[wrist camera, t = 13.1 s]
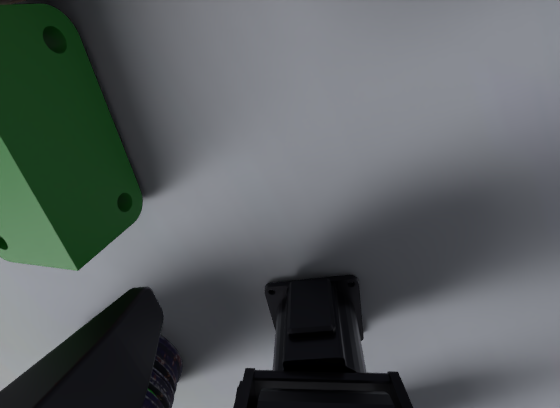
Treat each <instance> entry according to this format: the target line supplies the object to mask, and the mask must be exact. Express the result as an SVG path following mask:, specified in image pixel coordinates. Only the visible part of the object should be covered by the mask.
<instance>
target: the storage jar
mask: <svg viewBox="0 0 560 408" xmlns="http://www.w3.org/2000/svg"><path fill="white" fill-rule="evenodd" d="M182 368H183V364H182V359H181V357H180V354H179V353H178V351H177V350H176V348H175V347H174V346H173V345H172V344H171V343H170V342H169V341H168V340H167V339H165V338H164V337H162V336H161V335H160V337H159V342H158V347H157V351H156V356H155V361H154V365H153V370H152V374H151V378H150V382H149V386H148V389H147V393H146V396H145V399H144V402H143V405H142V408H172V404H173V402H174V394H175V391H176V386H177V382H178V381H179V378H180V376H181V373H182Z"/></svg>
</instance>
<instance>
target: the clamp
mask: <svg viewBox="0 0 560 408" xmlns="http://www.w3.org/2000/svg"><path fill="white" fill-rule="evenodd" d="M142 203H143V200H142V194H141V191H140V188H139V185H138V183H137V180H136V178H135V175H134V173H133V170H132V168H131V165H130V163H129V160H128V158H127V155H126V152H125V150H124V147H123V145H122V142H121V140H120V137H119V135H118V132H117V130H116V127H115V125H114V122H113V119H112V117H111V114H110V112H109V109H108V107H107V104H106V102H105V99H104V97H103V94H102V92H101V89H100V86H99V84H98V81H97V79H96V76H95V74H94V71H93V69H92V66H91V64H90V61H89V59H88V56H87V53H86V51H85V48H84V46H83V43H82V41H81V38H80V36H79V34H78V31H77V30H76V28H75V26H74V25H73V23H72V22H71V21H70V20H69V18H68V17H67V16H66V15H65V14H63V13H62V12H61V11H60V10H58V9H56V8H55V7H53V6H50V5H47V4H8V5H0V257H1V258H3V259H5V260H7V261H10V262H15V263H23V264H30V265H38V266H46V267H53V268H61V269H69V270H76V271H78V270H79V269H81V268H82V267H83V266H84V265H85V264H86V263H87V262H89V261H90V260H91V259H92V258H93V257H94V256H96V255H97V254H98V253H99V252H100V251H101V250H103V249H104V248H105V247H106V246H107V245H108V244H110V243H111V242H112V241H113V240H114V239H115V238H117V237H118V236H119V235H120V234H121V233H122V232H124V231H125V230H126V229H127V228H128V227H129V226H131V225H132V224H133V223H134V222H135V221H136V220H137V219H138V217H139V215H140V213H141V210H142Z"/></svg>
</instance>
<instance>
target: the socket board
mask: <svg viewBox="0 0 560 408" xmlns="http://www.w3.org/2000/svg"><path fill="white" fill-rule="evenodd" d="M21 1H25V0H0V5H8V4H13V3H17V2H21Z"/></svg>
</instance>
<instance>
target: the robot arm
mask: <svg viewBox="0 0 560 408" xmlns="http://www.w3.org/2000/svg"><path fill="white" fill-rule="evenodd" d="M349 282H353V283H349ZM271 290H274V291H271ZM265 295H266V299H267V302H268V306H269V309H270V313H271V316H272V320H273V324H274V327H275V331H276V334H275V347H274V360H273V370H255V368H246V369H245V373H244V377H243V381H240V384H239V387H237V393H236V399H235V403H234V407H233V408H413V406H412V404H411V402H410V399H409V397H408V394H407V392H406V390H405V387H404V385H403V383H402V380H401V378H400V376H399V373H398V372H387V373H366V367H365V362H364V356H363V351H362V345H361V341H362V340H363V338H364V337H363V326H362V315H361V304H360V293H359V283H358V279H357V277H356V276H354V275H345V276H335V277H325V278H315V279H305V280H295V281H285V282H275V283H269V284H267V285H266V286H265ZM162 323H163V311H162V309H161V307H160V305H159V303H158V301H157V299H156V297H155V295H154V293H153V291H152V289H150V288H149V287H138V288H132V289H130V290H129V291H127V292H126V293H125V294H124V295H122V296H121V297H120V298H118V299H117V300H116V301H115V302H113V303H112V304H111V305H110V306H108V307H107V308H106V309H104V310H103V311H102V312H101V313H99V314H98V315H97V316H96V317H94V318H93V319H92V320H90V321H89V322H88V323H87V324H85V325H84V326H83V327H82V328H80V329H79V330H78V331H76V332H75V333H74V334H73V335H71V336H70V337H69V338H68V339H66V340H65V341H64V342H62V343H61V344H60V345H59V346H57V347H56V348H55V349H54V350H52V351H51V352H50V353H48V354H47V355H46V356H45V357H43V358H42V359H41V360H40V361H38V362H37V363H36V364H34V365H33V366H32V367H31V368H29V369H28V370H27V371H26V372H24V373H23V374H22V375H20V376H19V377H18V378H17V379H15V380H14V381H13V382H12V383H10V384H9V385H8V386H6V387H5V388H4V389H3V390H1V391H0V408H142V405H143V402H144V399H145V396H146V393H147V389H148V386H149V382H150V378H151V374H152V370H153V365H154V361H155V356H156V351H157V347H158V342H159V337H160V333H161V328H162Z"/></svg>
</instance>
